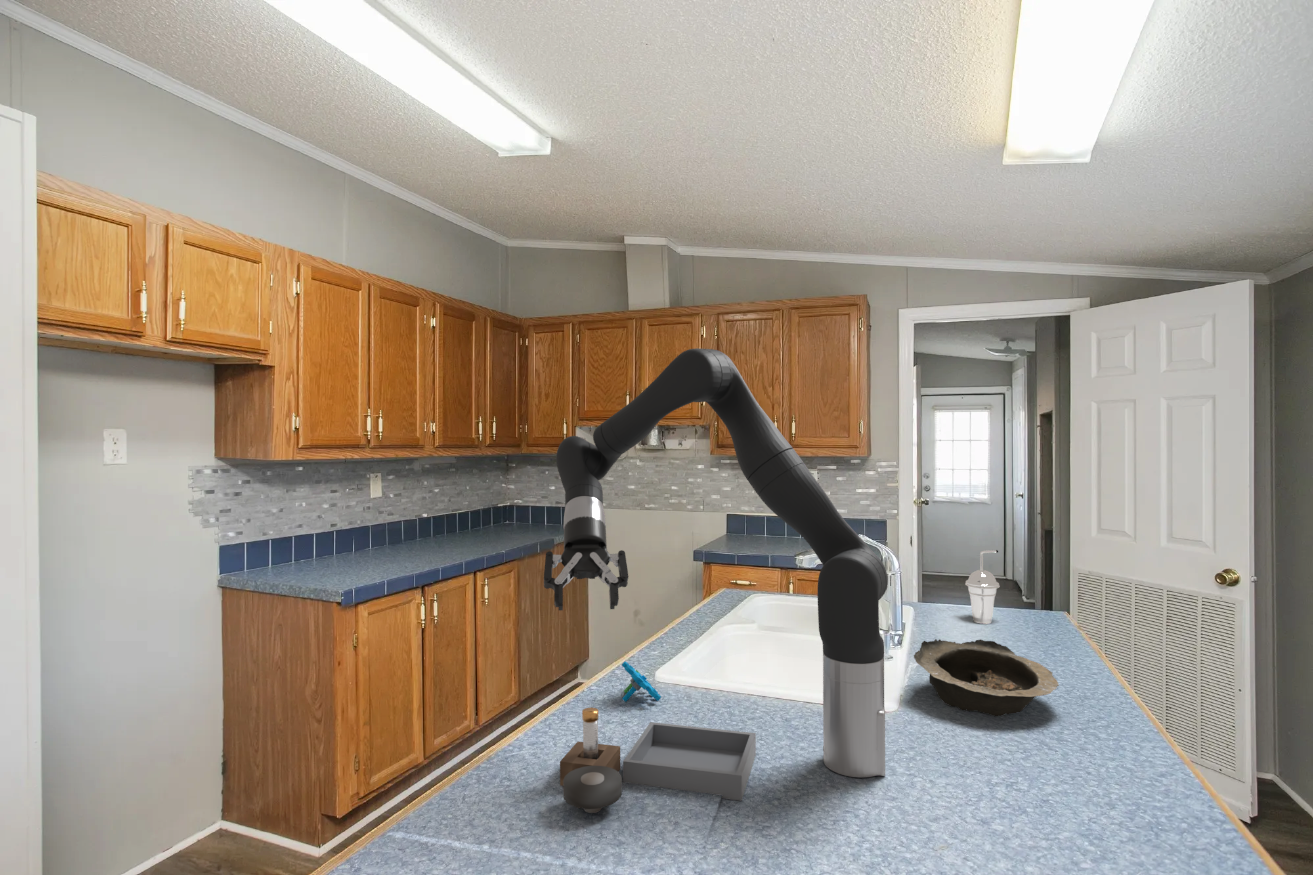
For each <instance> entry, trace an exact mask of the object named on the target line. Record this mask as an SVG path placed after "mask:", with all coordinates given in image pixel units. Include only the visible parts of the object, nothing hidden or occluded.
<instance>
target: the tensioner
mask: <svg viewBox="0 0 1313 875" xmlns="http://www.w3.org/2000/svg"><path fill="white" fill-rule="evenodd" d="M620 771H621V745H613V744H612V745H611V744H605V743H604V744H603V743H598V759H597V760H596V759H587V758H583V741H576V742H575V744H574V745H573V746H572V747H571V748H570V749H569V751H568V752H567V753H566V754H565V755H564V756H563V757H562V758H561V760H560V761H559V785H560V787H561V786H562V787H563V788H562V789H563V790H562V791H563V799H564V801H565V802H566V803H567V804H568V805H570V806H571V807H574V808H577V809H583V810H584V812H586V813H588V814H596V813H599V812H601V810H602V809H603V808H605V807H609V806H612V805H613V804H615V803H616V802H618V801H619V800H620V799H621V798H622V793H623V792H622V791H623V790H622V789H623V787H622V785H623V784H622V780H623V778H622V774H621V773H620Z"/></svg>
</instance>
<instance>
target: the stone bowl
mask: <svg viewBox="0 0 1313 875" xmlns="http://www.w3.org/2000/svg"><path fill="white" fill-rule="evenodd" d="M913 659H914V660H915V662H916V663H917V664H918V665H919V666H920V667H922V669H924V670H925V671H926V672H927V673H929V677H928V679H929V680H928V681H929V684H931V685H932V686H933V687H934V690H935V692H936V694H937V696H938V698H939V699H940V701H941V702H943V703H944V704H945V705H947V706H948V707H954V708H957V709H958V710H960V711H965V712H971V711H972V712H974V711H976V712H978V713H982V714H986V715H990V716H993V717H1002V716H1005V715H1013V714H1019V713H1021V712H1023V711H1024V709H1025V708H1026V707H1027V706H1028V705H1029V704H1031V703H1032V701H1033V700H1034V699H1035V698H1036V697H1040V696H1041V697H1042V696H1046V695H1049V694H1051V693H1052V692H1054V691H1055V690H1056V689H1057V688H1058V687H1060V684H1059V681H1058V680H1057V679H1056V678H1055V677H1054V675H1053V671H1051V670H1049V668H1046V666H1043V665H1042V664H1041V663H1038V662H1036V661H1033V660H1031V659H1028V658H1026V657H1024V656H1020V655H1017V654H1015V652H1014V651H1012V650H1011V649H1010V648H1009V647H1008V646H1006V645H1002V644H1000V643H997V642H996V641H993V640H983V639H976V640H975V641H973V640H972V641H965V642H962V643H958V642H956V641H947V640H941V639H938V640H937V638H935V639H934V640H932V641H929V640H928V641H926V640H923V641H922V642H921V645H920V647H919V650H917V651H916V652H915V653H914V654H913Z"/></svg>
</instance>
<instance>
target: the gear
mask: <svg viewBox="0 0 1313 875" xmlns="http://www.w3.org/2000/svg"><path fill="white" fill-rule="evenodd" d="M621 666H622V667H623V669H624V670H625V671H626V673H628V675H630V677H631V678H630V683H629V684H628V685H627V687H626V688H624V690H623V692H624V693H625V694H624V696H623V697H622V698H621V699H622V701H624V702H625V703H627V702H628V701H629V699H631V697H632V696H634V694H635V693H636V692H637V691H638V692H639V691H640V689H641V688H642V689H643V690H644V691H645V690H646V691H647V693H648V694H649V696H651V697H652V698H653V699H655V700H656V701H657V702H659V701H660V700H661V699H662V696H661V695H660V694H659V692H658V691H657V690H656V688H654V687H653V686H652V684H651V683H650V682H649V681H648V680H647V679H648V678H647V677H646V676H645V675H644V674H643V675H642V674H641V672H639V670H637V669H635V668H634V666H632V665H631V664H630V663H629V662H627V661H626V660H625V661H624V662H623V663H622V664H621Z"/></svg>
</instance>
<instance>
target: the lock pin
mask: <svg viewBox="0 0 1313 875" xmlns="http://www.w3.org/2000/svg"><path fill="white" fill-rule="evenodd" d="M581 712H582V713H581V714H582V715H581V716H582V730H583V731H582V732H583V734H582V739H583V741H582V742H583V758H587V759H596V760H597V759H598V744H599V709H598V708H596V707H585V708H583V709H582V711H581Z"/></svg>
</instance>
